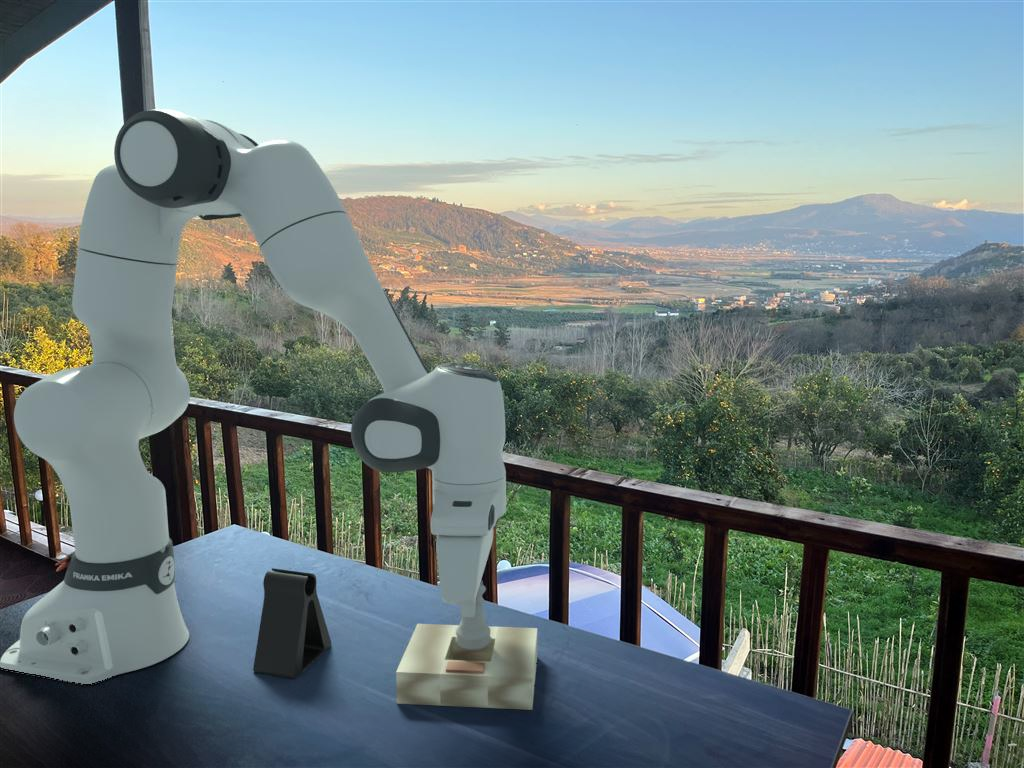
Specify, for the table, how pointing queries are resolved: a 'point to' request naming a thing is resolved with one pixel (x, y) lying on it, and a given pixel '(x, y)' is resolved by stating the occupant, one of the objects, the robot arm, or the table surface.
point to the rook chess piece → (474, 627)
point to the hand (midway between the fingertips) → (471, 606)
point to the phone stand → (290, 625)
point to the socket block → (468, 669)
